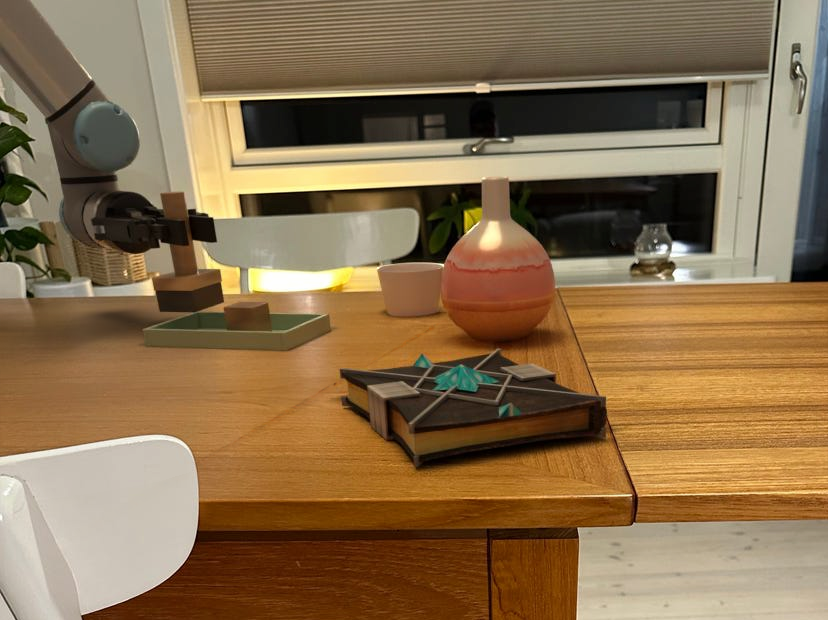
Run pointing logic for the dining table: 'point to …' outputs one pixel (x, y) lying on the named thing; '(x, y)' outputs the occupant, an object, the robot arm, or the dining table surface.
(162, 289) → the brush
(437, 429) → the book
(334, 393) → the dining table surface
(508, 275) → the vase
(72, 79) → the robot arm
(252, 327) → the brown cube
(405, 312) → the pink cup
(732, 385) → the dining table surface
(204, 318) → the tray
